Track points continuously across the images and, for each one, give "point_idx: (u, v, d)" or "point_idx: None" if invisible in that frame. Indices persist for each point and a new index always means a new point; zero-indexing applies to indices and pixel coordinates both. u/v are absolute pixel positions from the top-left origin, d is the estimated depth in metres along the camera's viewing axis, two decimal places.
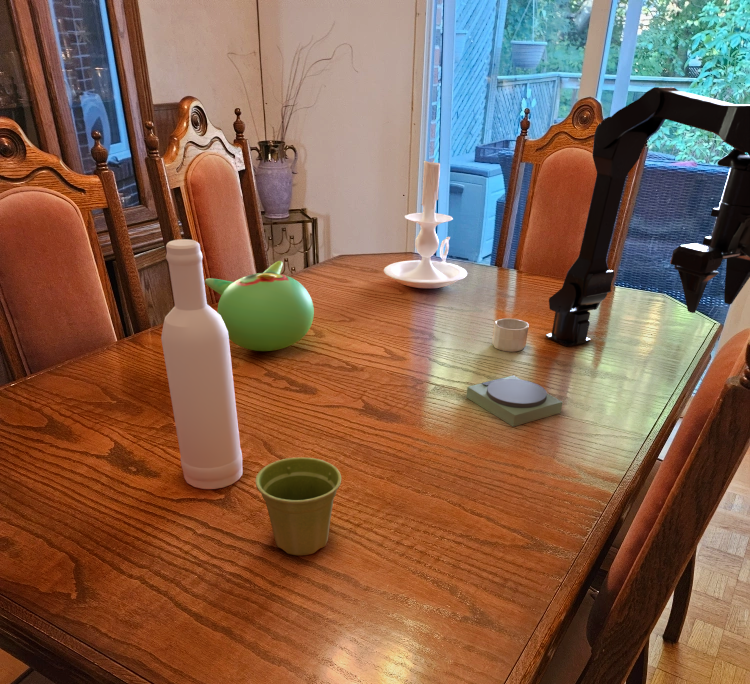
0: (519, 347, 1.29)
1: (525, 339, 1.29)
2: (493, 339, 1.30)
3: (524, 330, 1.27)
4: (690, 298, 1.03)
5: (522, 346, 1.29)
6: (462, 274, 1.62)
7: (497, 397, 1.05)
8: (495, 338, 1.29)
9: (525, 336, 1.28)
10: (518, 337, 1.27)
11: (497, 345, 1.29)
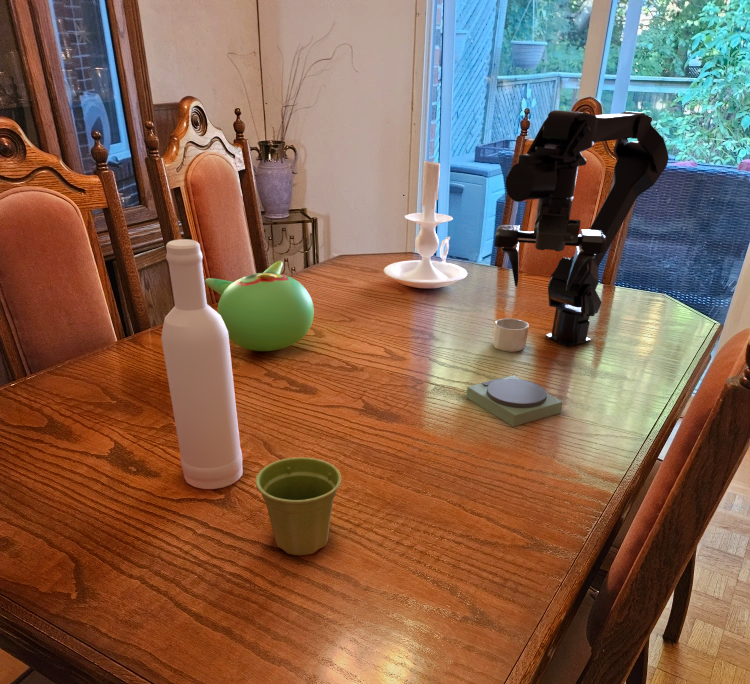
0: (519, 347, 1.29)
1: (525, 339, 1.29)
2: (493, 339, 1.30)
3: (524, 330, 1.27)
4: None
5: (522, 346, 1.29)
6: (462, 274, 1.62)
7: (497, 397, 1.05)
8: (495, 338, 1.29)
9: (525, 336, 1.28)
10: (518, 337, 1.27)
11: (497, 345, 1.29)
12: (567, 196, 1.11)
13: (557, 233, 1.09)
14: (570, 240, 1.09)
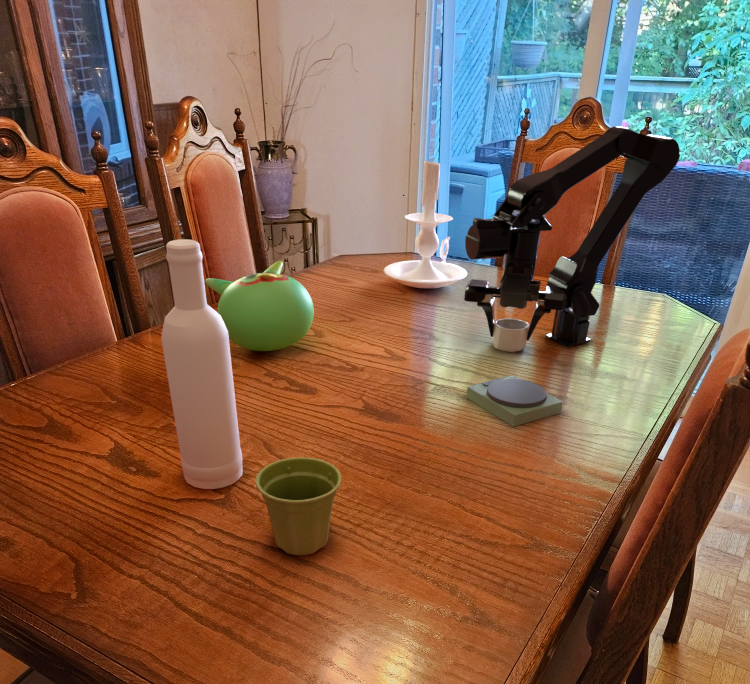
0: (519, 347, 1.29)
1: (525, 339, 1.29)
2: (493, 339, 1.30)
3: (524, 330, 1.27)
4: None
5: (522, 346, 1.29)
6: (462, 274, 1.62)
7: (497, 397, 1.05)
8: (495, 338, 1.29)
9: (525, 336, 1.28)
10: (518, 337, 1.27)
11: (497, 345, 1.29)
12: (525, 258, 1.19)
13: (518, 293, 1.18)
14: (531, 299, 1.18)
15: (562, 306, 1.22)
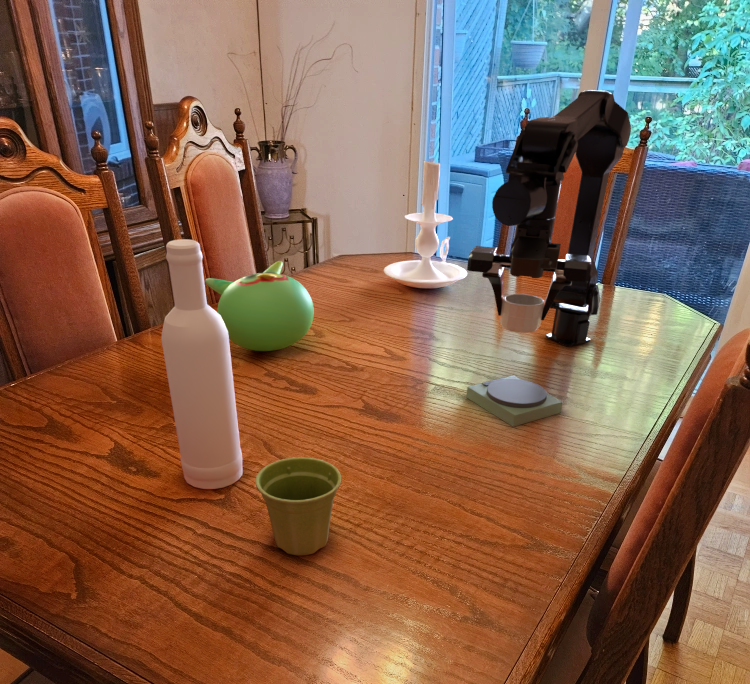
0: (532, 327, 1.07)
1: (540, 318, 1.08)
2: (501, 318, 1.09)
3: (539, 307, 1.06)
4: None
5: (536, 327, 1.08)
6: (462, 274, 1.62)
7: (497, 397, 1.05)
8: (504, 316, 1.08)
9: (540, 314, 1.07)
10: (531, 315, 1.06)
11: (506, 325, 1.08)
12: (552, 216, 0.99)
13: (533, 258, 0.96)
14: (548, 266, 0.97)
15: (586, 277, 1.01)
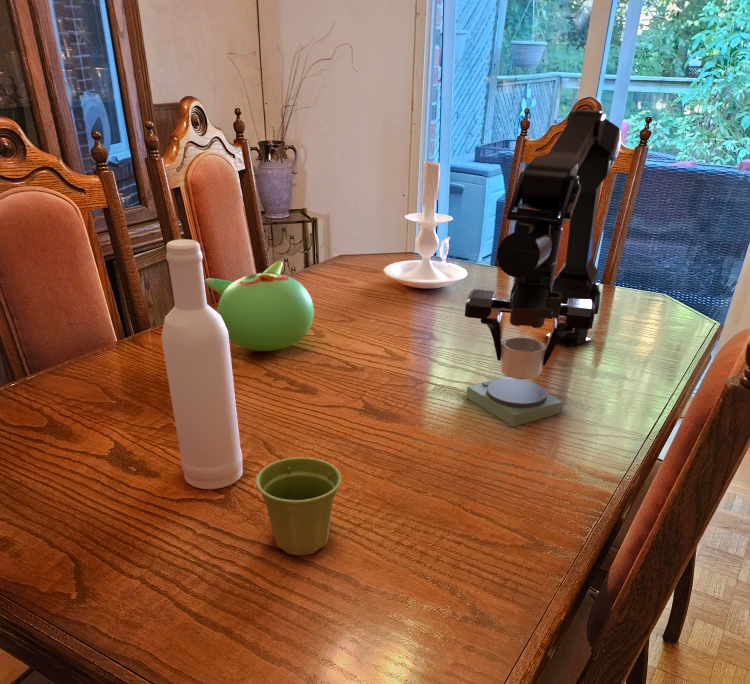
0: (533, 374, 1.03)
1: (541, 364, 1.03)
2: (501, 363, 1.04)
3: (540, 353, 1.01)
4: None
5: (537, 373, 1.03)
6: (462, 274, 1.62)
7: (497, 397, 1.05)
8: (503, 362, 1.03)
9: (541, 360, 1.02)
10: (532, 362, 1.01)
11: (506, 371, 1.04)
12: (554, 261, 0.94)
13: (534, 308, 0.92)
14: (550, 316, 0.92)
15: (589, 324, 0.96)
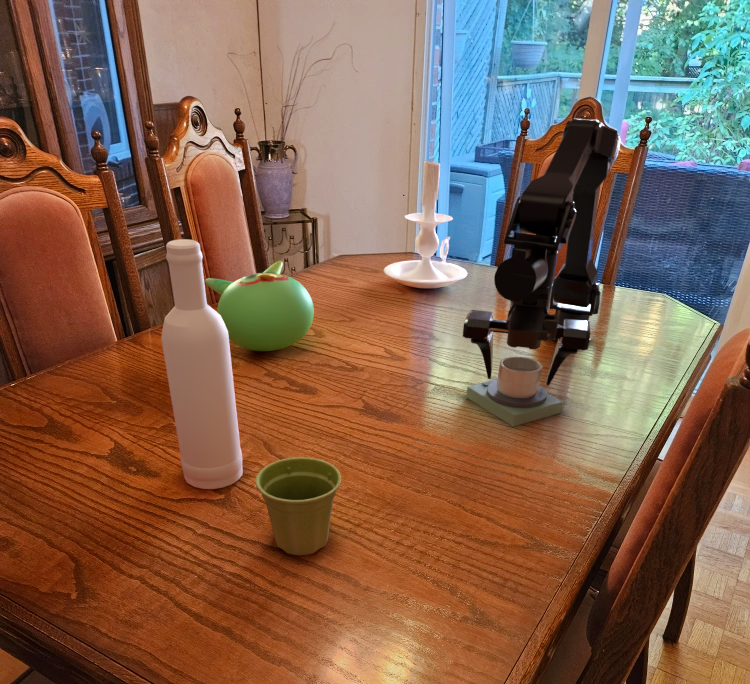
0: (530, 393, 1.05)
1: (538, 383, 1.05)
2: (498, 383, 1.06)
3: (537, 373, 1.03)
4: None
5: (534, 392, 1.05)
6: (462, 274, 1.62)
7: (497, 397, 1.05)
8: (501, 382, 1.05)
9: (538, 380, 1.04)
10: (529, 381, 1.03)
11: (503, 390, 1.05)
12: (551, 284, 0.96)
13: (531, 330, 0.93)
14: (546, 338, 0.94)
15: (585, 345, 0.98)
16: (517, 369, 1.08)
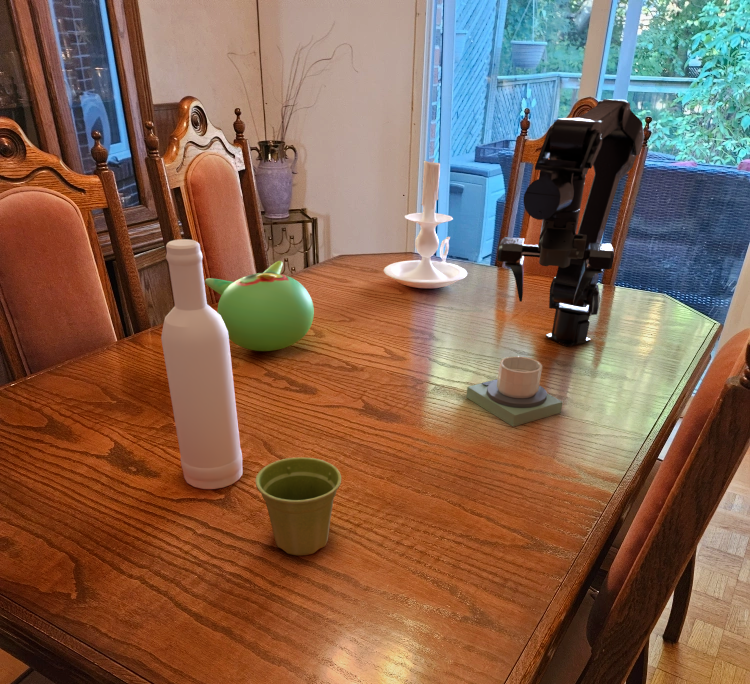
0: (530, 393, 1.05)
1: (538, 383, 1.05)
2: (498, 383, 1.06)
3: (537, 373, 1.03)
4: None
5: (534, 392, 1.05)
6: (462, 274, 1.62)
7: (497, 397, 1.05)
8: (501, 382, 1.05)
9: (538, 380, 1.04)
10: (529, 381, 1.03)
11: (503, 390, 1.05)
12: (577, 208, 1.06)
13: (561, 249, 1.04)
14: (575, 256, 1.04)
15: (609, 264, 1.08)
16: (517, 369, 1.08)
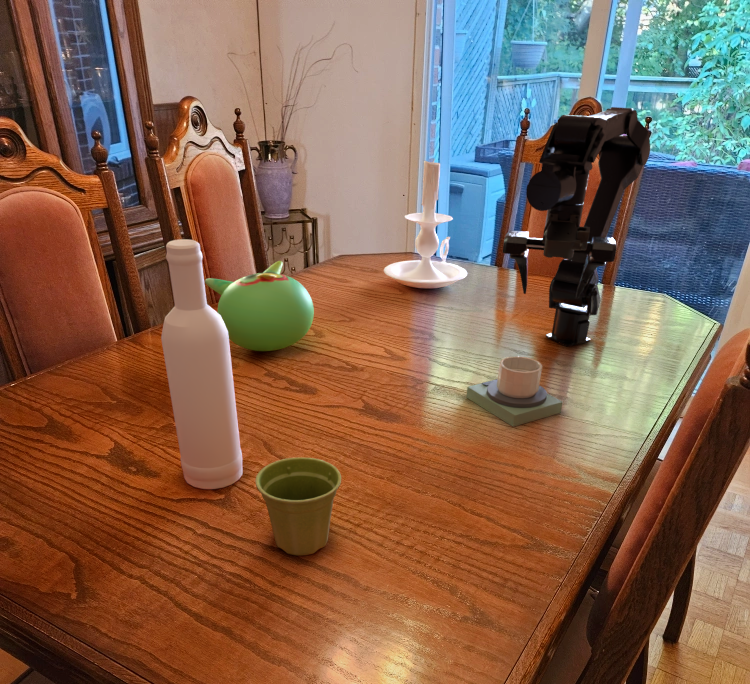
0: (530, 393, 1.05)
1: (538, 383, 1.05)
2: (498, 383, 1.06)
3: (537, 373, 1.03)
4: None
5: (534, 392, 1.05)
6: (462, 274, 1.62)
7: (497, 397, 1.05)
8: (501, 382, 1.05)
9: (538, 380, 1.04)
10: (529, 381, 1.03)
11: (503, 390, 1.05)
12: (581, 202, 1.09)
13: (565, 240, 1.07)
14: (579, 248, 1.07)
15: (612, 257, 1.11)
16: (517, 369, 1.08)
